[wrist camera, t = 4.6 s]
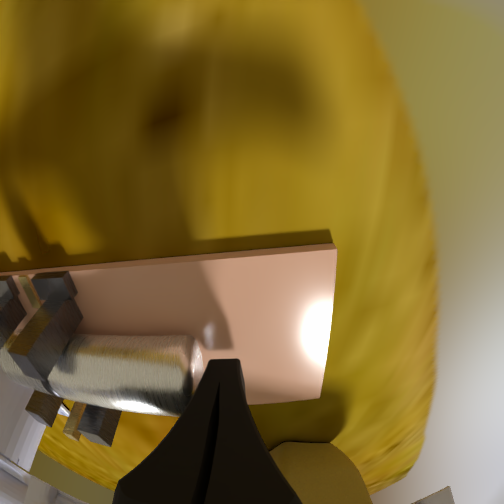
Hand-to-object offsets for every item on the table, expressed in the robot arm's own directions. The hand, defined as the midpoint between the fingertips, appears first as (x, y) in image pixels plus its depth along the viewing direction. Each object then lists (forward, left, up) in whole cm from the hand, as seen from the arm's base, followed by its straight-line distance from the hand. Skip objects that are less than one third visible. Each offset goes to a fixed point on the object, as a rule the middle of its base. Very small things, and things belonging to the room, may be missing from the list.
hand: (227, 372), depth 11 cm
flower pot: (+4, -16, -2) cm, 17 cm away
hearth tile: (-5, 0, -2) cm, 6 cm away
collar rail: (-10, 0, -2) cm, 10 cm away
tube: (-7, 0, -1) cm, 7 cm away
